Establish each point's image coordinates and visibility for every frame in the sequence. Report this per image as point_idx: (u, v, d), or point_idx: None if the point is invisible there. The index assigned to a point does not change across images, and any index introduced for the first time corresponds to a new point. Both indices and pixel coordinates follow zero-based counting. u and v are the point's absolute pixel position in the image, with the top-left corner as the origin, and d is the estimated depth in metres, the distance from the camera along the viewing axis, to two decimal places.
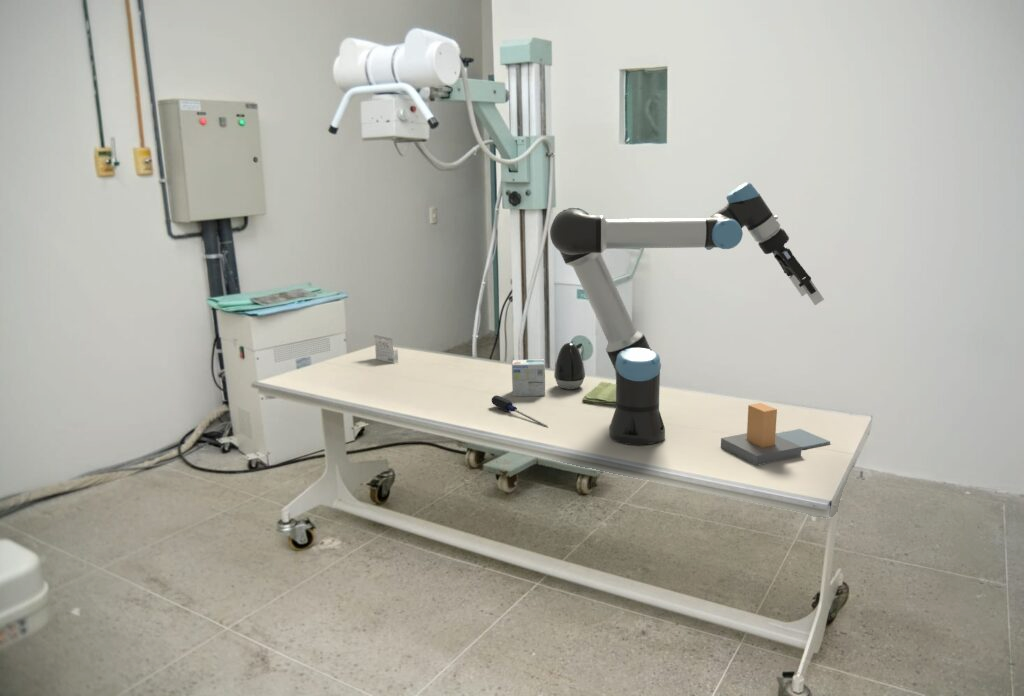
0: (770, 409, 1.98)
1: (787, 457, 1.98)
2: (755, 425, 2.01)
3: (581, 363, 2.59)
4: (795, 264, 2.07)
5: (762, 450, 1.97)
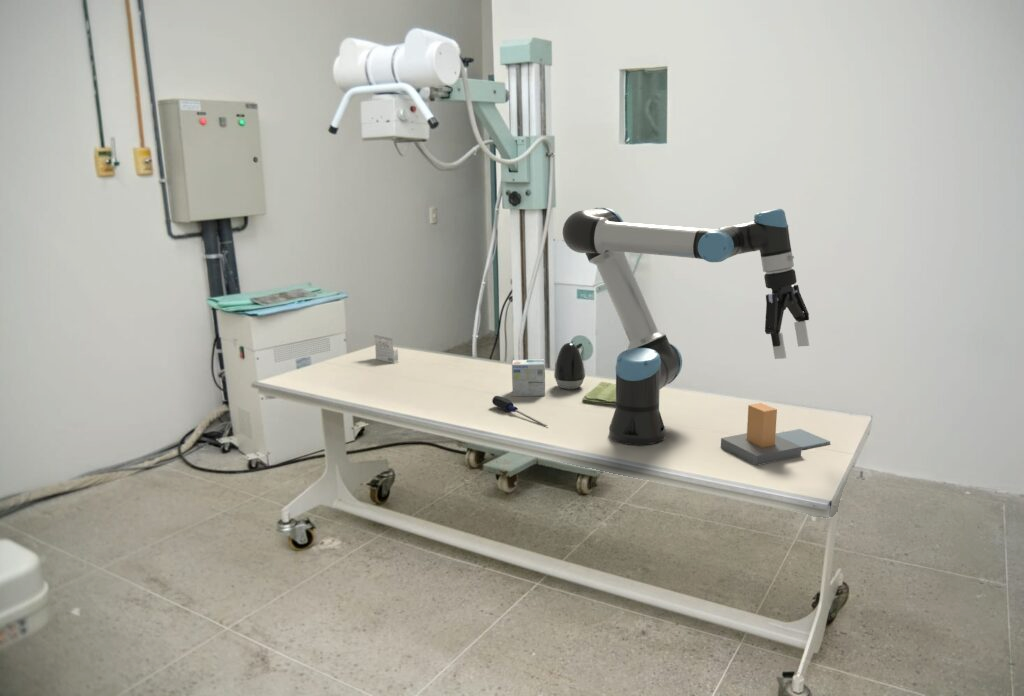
0: (770, 409, 1.98)
1: (787, 457, 1.98)
2: (755, 425, 2.01)
3: (581, 363, 2.59)
4: (771, 310, 1.96)
5: (762, 450, 1.97)
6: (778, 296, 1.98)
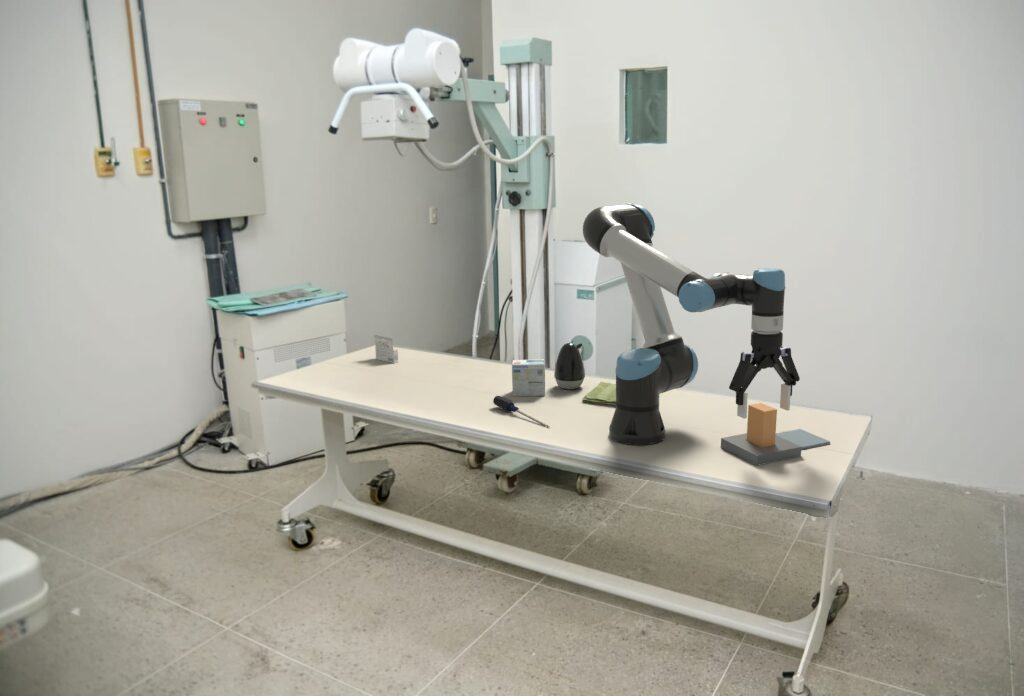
0: (770, 409, 1.98)
1: (787, 457, 1.98)
2: (755, 425, 2.01)
3: (581, 363, 2.59)
4: (740, 369, 1.94)
5: (762, 450, 1.97)
6: (754, 357, 1.95)
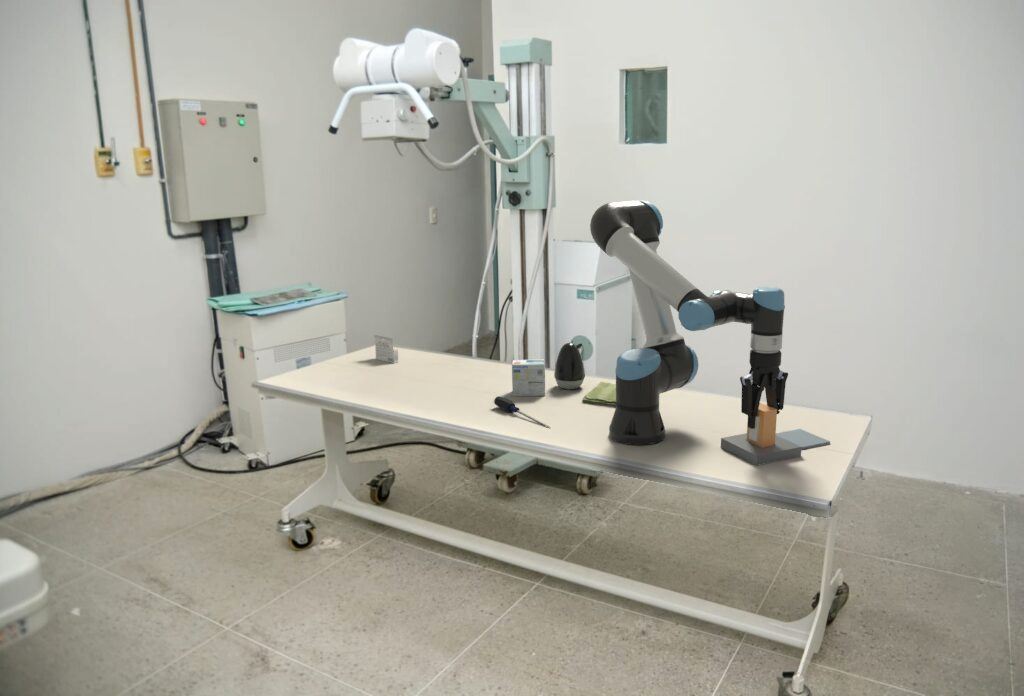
0: (770, 409, 1.98)
1: (787, 457, 1.98)
2: None
3: (581, 363, 2.59)
4: (745, 394, 1.97)
5: (762, 450, 1.97)
6: (754, 377, 1.96)
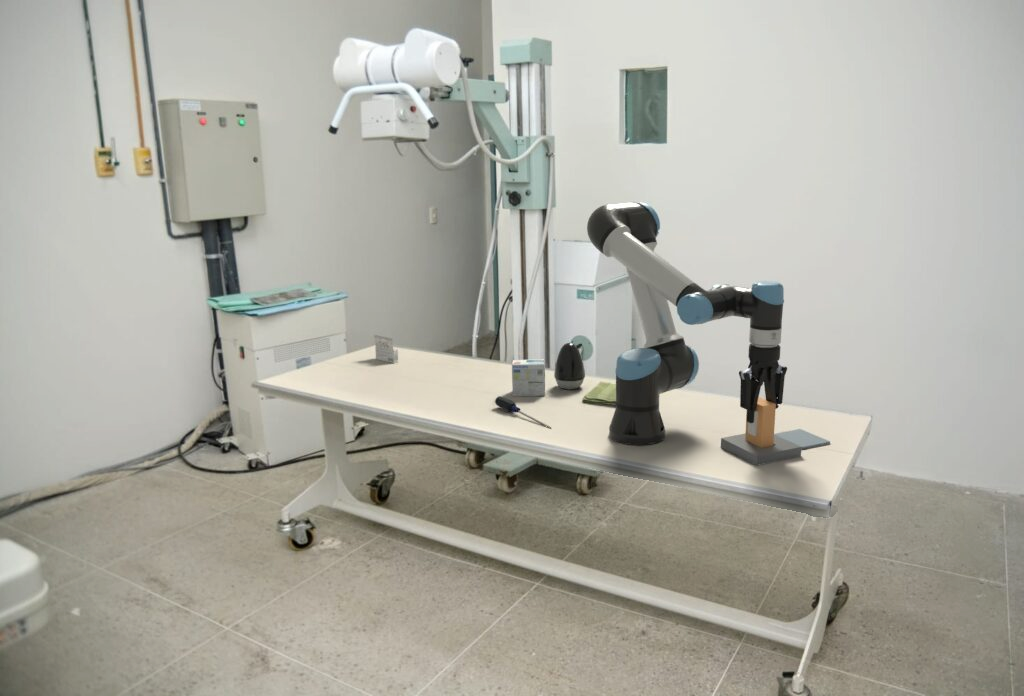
0: (769, 404, 1.98)
1: (787, 457, 1.98)
2: None
3: (581, 363, 2.59)
4: (744, 388, 1.96)
5: (762, 450, 1.97)
6: (753, 371, 1.96)
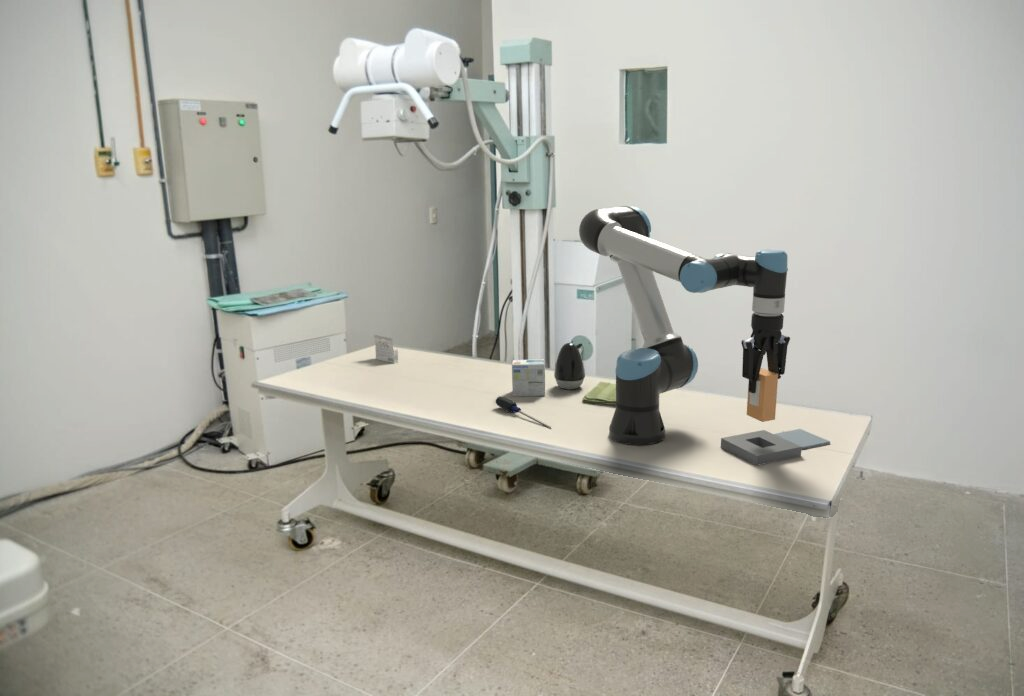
0: (771, 374, 1.96)
1: (787, 457, 1.98)
2: None
3: (581, 363, 2.59)
4: (746, 357, 1.95)
5: (762, 450, 1.97)
6: (755, 340, 1.94)
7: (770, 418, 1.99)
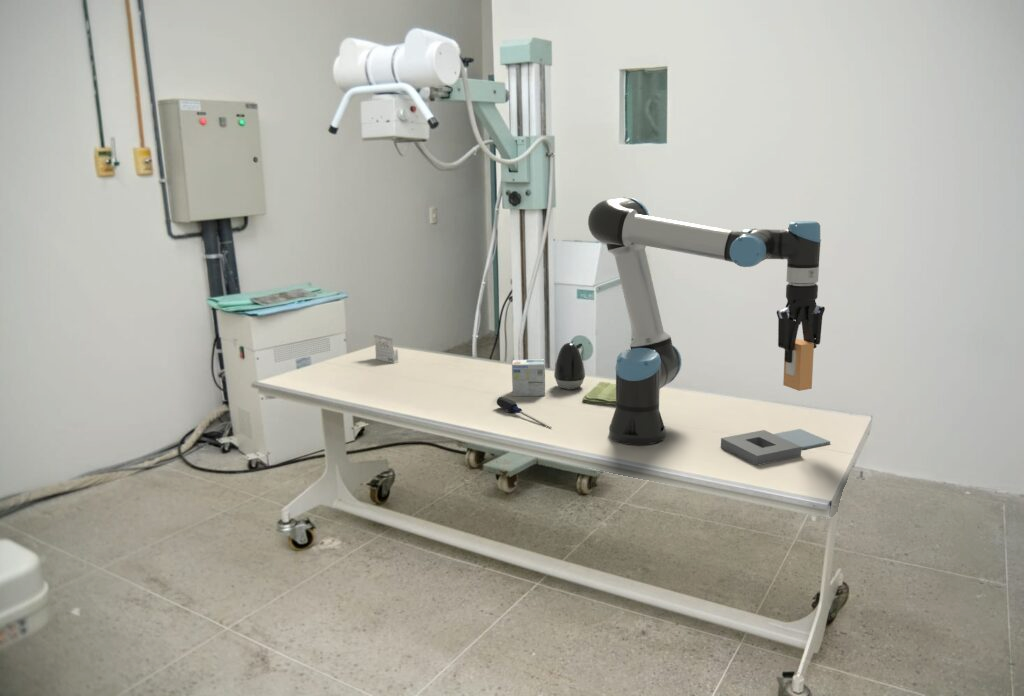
0: (807, 343, 2.00)
1: (787, 457, 1.98)
2: None
3: (581, 363, 2.59)
4: (782, 327, 1.99)
5: (762, 450, 1.97)
6: (790, 310, 1.98)
7: (807, 387, 2.02)
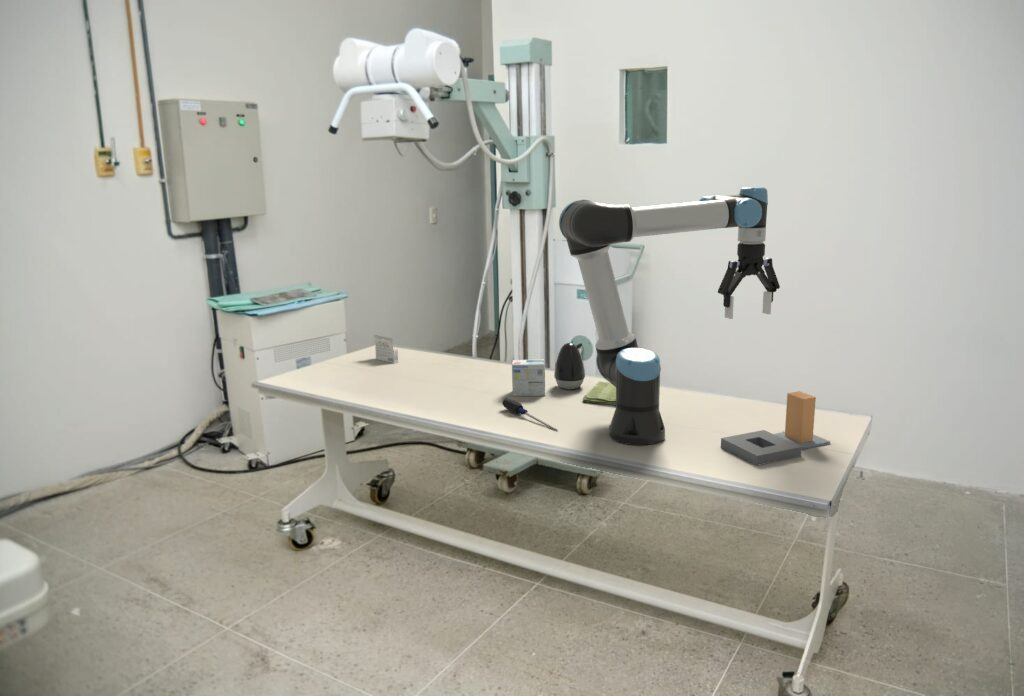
0: (809, 397, 2.05)
1: (787, 457, 1.98)
2: (794, 412, 2.08)
3: (581, 363, 2.59)
4: (727, 275, 2.23)
5: (762, 450, 1.97)
6: (740, 264, 2.23)
7: (808, 439, 2.07)
